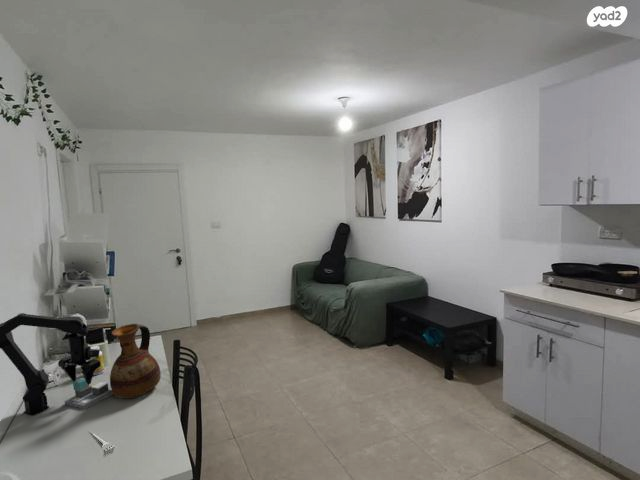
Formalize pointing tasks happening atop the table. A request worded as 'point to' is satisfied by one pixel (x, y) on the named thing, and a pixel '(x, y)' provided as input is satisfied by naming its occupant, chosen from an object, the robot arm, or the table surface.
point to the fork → (102, 442)
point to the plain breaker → (100, 388)
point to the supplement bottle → (100, 358)
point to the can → (103, 351)
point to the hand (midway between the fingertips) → (81, 382)
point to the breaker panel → (87, 400)
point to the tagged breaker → (83, 392)
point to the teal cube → (80, 384)
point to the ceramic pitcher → (133, 364)
